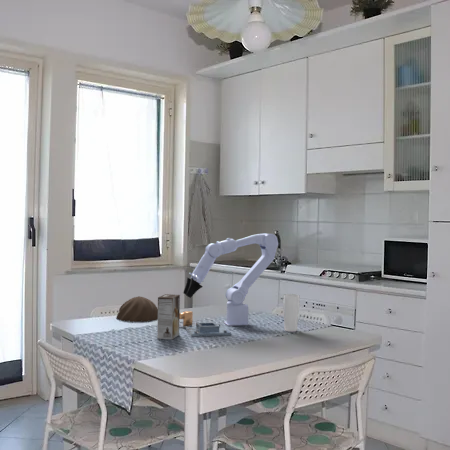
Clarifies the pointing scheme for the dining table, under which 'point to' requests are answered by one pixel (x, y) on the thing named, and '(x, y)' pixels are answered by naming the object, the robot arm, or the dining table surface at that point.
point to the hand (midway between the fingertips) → (186, 295)
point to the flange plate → (207, 329)
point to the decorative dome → (138, 310)
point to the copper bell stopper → (186, 318)
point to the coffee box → (168, 316)
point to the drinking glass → (291, 311)
